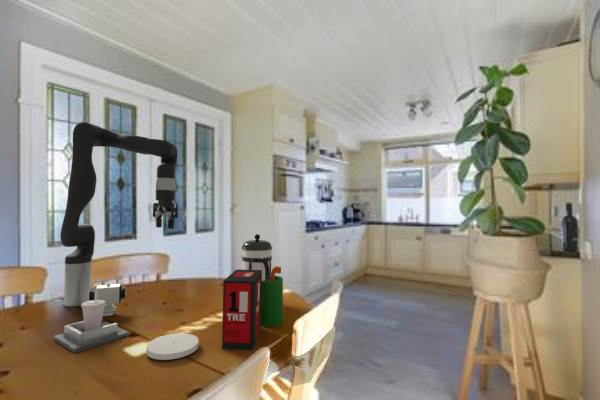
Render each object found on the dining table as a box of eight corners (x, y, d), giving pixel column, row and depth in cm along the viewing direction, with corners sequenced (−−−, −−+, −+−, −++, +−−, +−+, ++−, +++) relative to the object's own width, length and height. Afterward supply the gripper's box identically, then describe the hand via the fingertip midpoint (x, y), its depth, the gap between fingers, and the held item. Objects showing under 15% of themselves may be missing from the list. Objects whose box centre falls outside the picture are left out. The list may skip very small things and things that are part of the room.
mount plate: (53, 339, 99) (54, 326, 99) (105, 325, 111) (106, 313, 111) (74, 353, 90) (75, 338, 90) (128, 335, 102) (128, 322, 102)
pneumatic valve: (124, 314, 121) (125, 283, 122) (88, 319, 116) (89, 286, 117) (125, 310, 126) (126, 279, 127) (90, 314, 121) (91, 282, 122)
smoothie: (108, 332, 102) (110, 287, 102) (87, 339, 96) (90, 292, 97) (96, 328, 105) (98, 285, 105) (75, 335, 99) (77, 289, 100)
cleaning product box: (252, 350, 94) (253, 281, 94) (222, 349, 94) (223, 280, 94) (261, 328, 110) (261, 270, 110) (235, 327, 110) (236, 269, 111)
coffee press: (229, 309, 129) (230, 235, 129) (249, 299, 144) (251, 232, 144) (267, 315, 122) (268, 237, 123) (285, 304, 137) (286, 234, 138)
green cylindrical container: (258, 317, 121) (259, 264, 121) (282, 316, 122) (283, 264, 122) (257, 327, 111) (258, 269, 111) (283, 326, 112) (284, 269, 112)
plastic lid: (145, 367, 83) (145, 358, 83) (146, 345, 96) (147, 337, 96) (201, 358, 89) (201, 348, 89) (195, 338, 102) (195, 330, 102)
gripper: (147, 189, 135) (146, 227, 135) (167, 188, 127) (166, 229, 127) (163, 189, 142) (163, 226, 141) (183, 189, 133) (183, 228, 133)
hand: (164, 228), depth 134 cm, fingers open, 8 cm apart
